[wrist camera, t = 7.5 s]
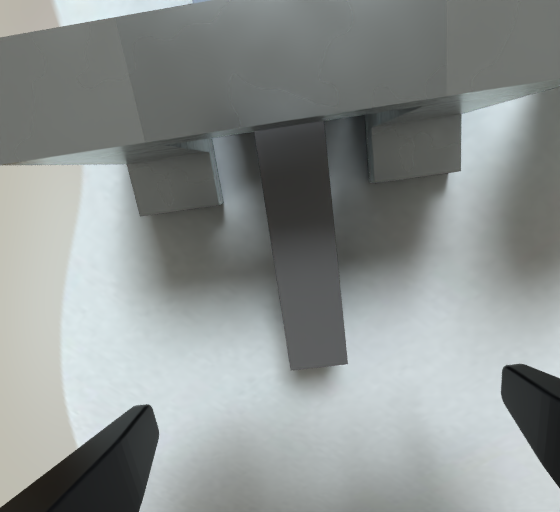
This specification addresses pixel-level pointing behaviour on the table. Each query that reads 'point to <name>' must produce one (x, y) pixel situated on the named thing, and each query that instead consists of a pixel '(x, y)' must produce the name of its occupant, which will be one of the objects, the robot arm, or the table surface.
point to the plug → (303, 242)
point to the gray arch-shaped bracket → (267, 83)
